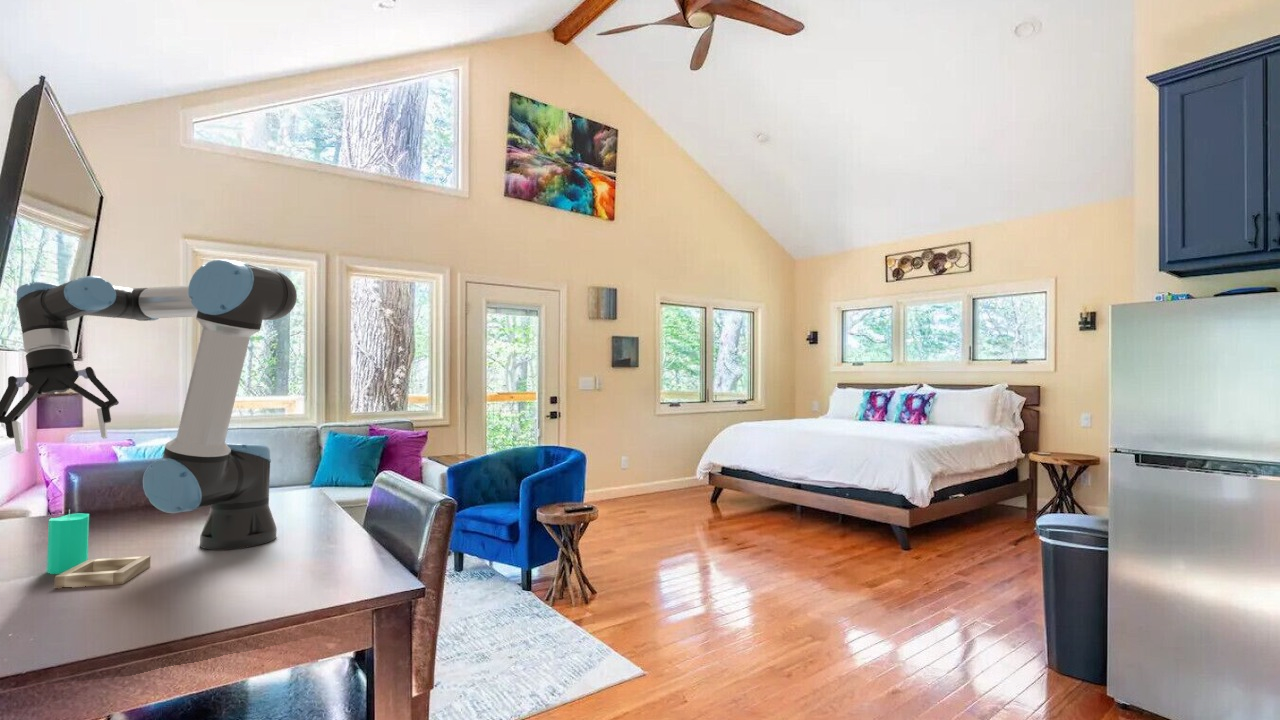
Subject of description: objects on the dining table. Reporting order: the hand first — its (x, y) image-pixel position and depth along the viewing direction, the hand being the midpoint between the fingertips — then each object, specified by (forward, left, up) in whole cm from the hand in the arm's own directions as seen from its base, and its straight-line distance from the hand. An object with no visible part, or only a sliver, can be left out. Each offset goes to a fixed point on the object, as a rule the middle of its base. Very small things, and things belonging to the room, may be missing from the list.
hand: (63, 444), depth 133 cm
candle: (-8, +13, -24) cm, 28 cm away
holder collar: (-17, +20, -24) cm, 35 cm away
